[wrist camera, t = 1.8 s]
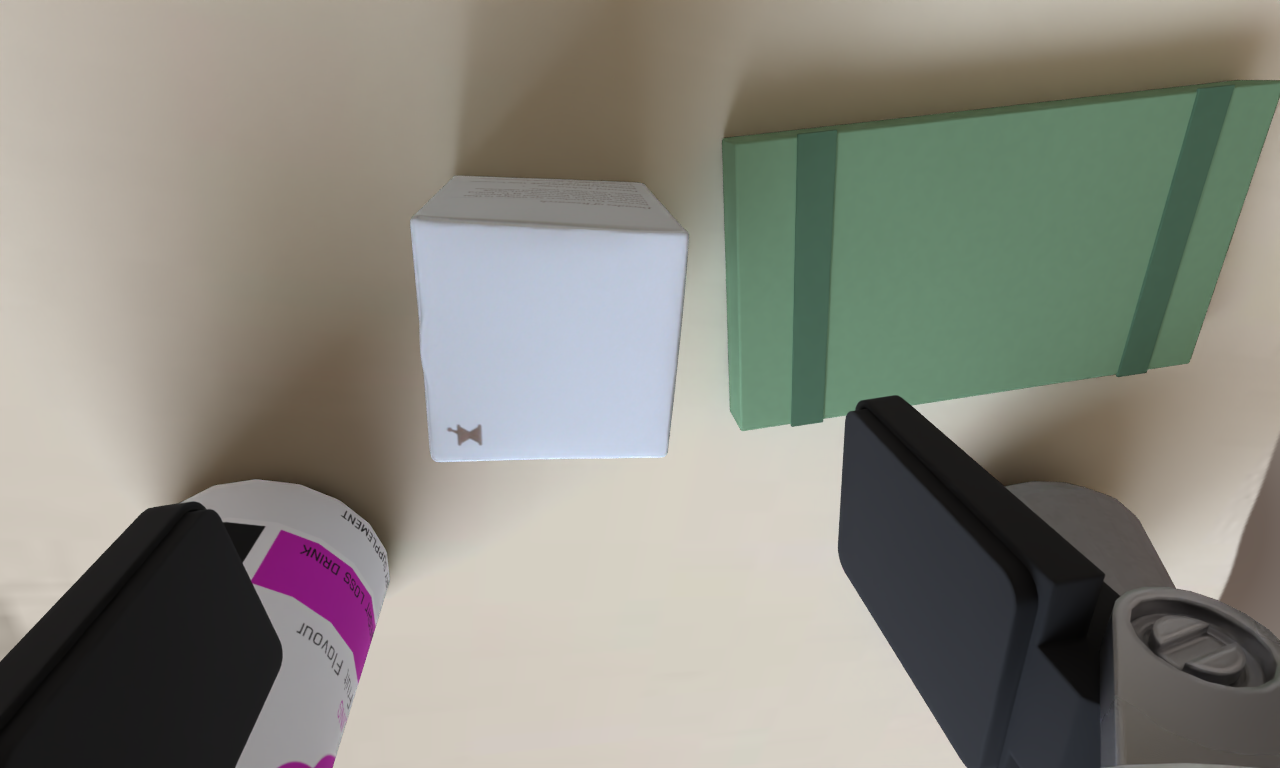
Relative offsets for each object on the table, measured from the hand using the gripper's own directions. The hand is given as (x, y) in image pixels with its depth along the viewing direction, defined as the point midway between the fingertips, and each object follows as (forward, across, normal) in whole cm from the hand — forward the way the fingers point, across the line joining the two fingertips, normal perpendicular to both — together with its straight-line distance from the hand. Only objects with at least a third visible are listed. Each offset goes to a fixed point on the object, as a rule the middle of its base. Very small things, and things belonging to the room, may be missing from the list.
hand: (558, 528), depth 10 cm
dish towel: (+13, -15, +1) cm, 20 cm away
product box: (+13, 0, -1) cm, 13 cm away
